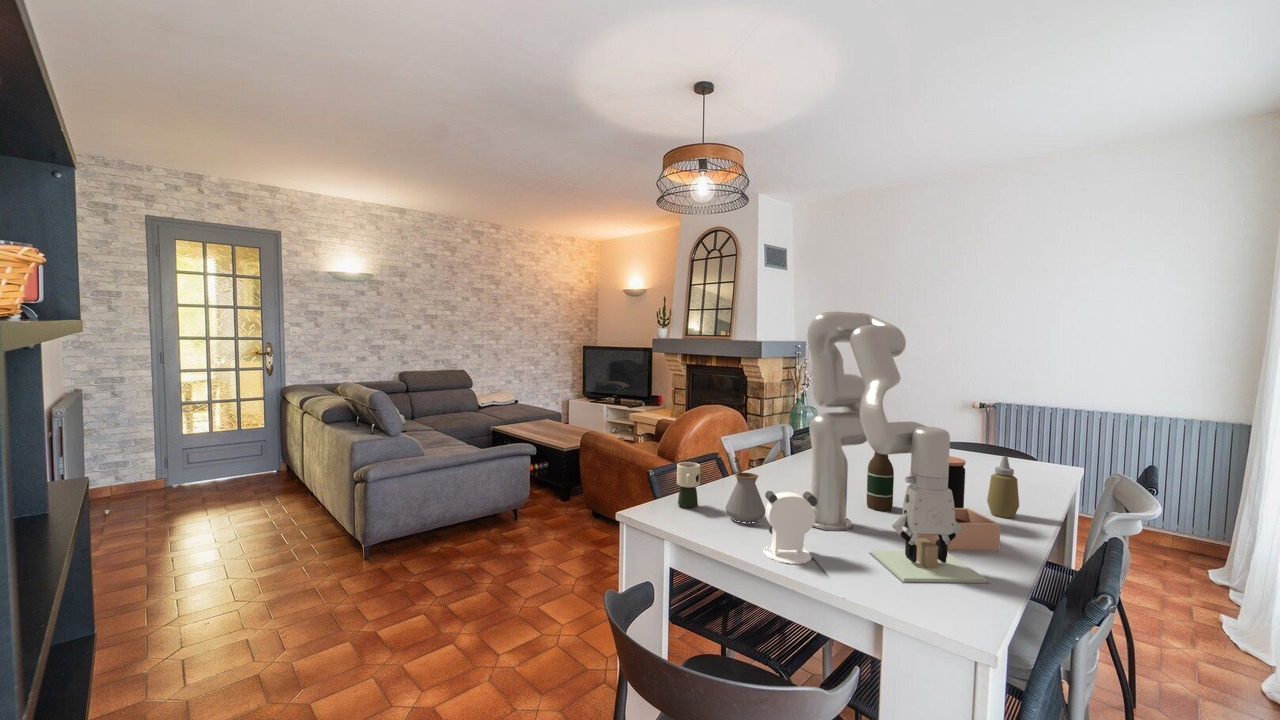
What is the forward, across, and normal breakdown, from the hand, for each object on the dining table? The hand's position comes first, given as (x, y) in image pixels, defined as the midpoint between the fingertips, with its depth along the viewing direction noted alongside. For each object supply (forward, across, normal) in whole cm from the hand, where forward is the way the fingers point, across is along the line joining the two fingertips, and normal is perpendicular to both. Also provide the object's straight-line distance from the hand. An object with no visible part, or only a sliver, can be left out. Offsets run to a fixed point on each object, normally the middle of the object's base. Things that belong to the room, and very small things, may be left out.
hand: (925, 559), depth 120 cm
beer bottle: (+3, +11, +45) cm, 46 cm away
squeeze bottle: (+3, +46, +39) cm, 60 cm away
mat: (+2, 0, 0) cm, 2 cm away
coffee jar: (+3, +25, +35) cm, 43 cm away
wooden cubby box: (+2, +17, +17) cm, 24 cm away
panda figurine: (+3, -29, +8) cm, 30 cm away
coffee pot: (+3, -34, +38) cm, 51 cm away
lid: (+2, 0, 0) cm, 2 cm away
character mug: (+3, -49, +44) cm, 66 cm away
